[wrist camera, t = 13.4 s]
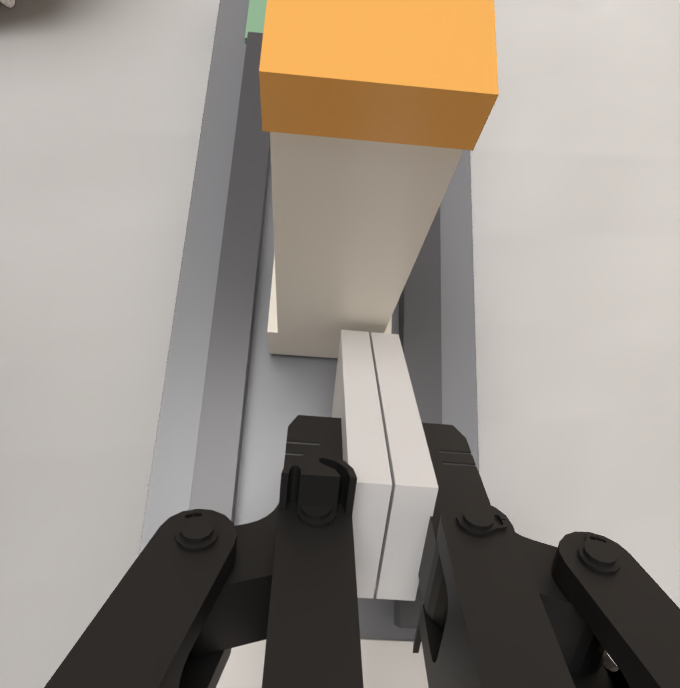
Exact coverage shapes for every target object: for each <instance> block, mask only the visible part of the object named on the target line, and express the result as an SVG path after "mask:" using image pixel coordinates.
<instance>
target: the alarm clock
mask: <svg viewBox="0 0 680 688" xmlns="http://www.w3.org/2000/svg"><path fill="white" fill-rule="evenodd" d="M0 2H1V3H3V4H4V5H6V6H7V7H8V8H11V7H13V6H14V4H15V0H0Z"/></svg>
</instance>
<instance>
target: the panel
mask: <svg viewBox="0 0 680 688" xmlns="http://www.w3.org/2000/svg"><path fill="white" fill-rule="evenodd" d="M266 5H267V0H220V4H219V11H218V18H217V24H216V31H215V38H214V45H213V52H212V59H211V65H210V72H209V79H208V86H207V93H206V100H205V106H204V113H203V120H202V127H201V134H200V140H199V147H198V154H197V161H196V168H195V175H194V181H193V188H192V195H191V202H190V209H189V216H188V222H187V229H186V236H185V243H184V250H183V257H182V263H181V270H180V277H179V284H178V291H177V297H176V304H175V311H174V318H173V325H172V332H171V338H170V345H169V352H168V359H167V366H166V373H165V379H164V386H163V393H162V400H161V407H160V413H159V420H158V427H157V434H156V441H155V448H154V454H153V461H152V468H151V475H150V482H149V489H148V495H147V502H146V509H145V516H144V523H143V530H142V536H141V543H140V550H139V555H140V553H141V552H142V551H143V549H144V548H145V546H146V545H147V544H148V542H149V541H150V539H151V538H152V537H153V535H154V534H155V532H156V531H157V530H158V528H159V527H160V526H161V525H162V524H163V523H164V522H165V521H166V520H167V519H168V518H169V517H171V516H173V515H176V514H178V513H180V512H182V511H187V510H193V509H207V510H214V511H216V512H219V513H221V514H224V515H225V516H227V517H228V518H229V519H230V520H231V521H232V522H233V523H234V526H236V525H242V524H247V523H251V522H254V521H258V520H260V519H262V518H264V517H266V516H267V515H269V514H270V513H271V512H272V511H274V510H275V508H276V507H277V505H278V504H279V497H280V484H281V473H282V470H283V468H284V460H285V450H286V441H287V431H288V426H289V425H290V424H291V422H292V421H293V420H294V419H295V418H296V417H297V416H298V415H307V416H320V417H331V415H332V406H333V397H334V388H335V379H336V370H337V361H338V358H325V357H311V356H296V355H282V354H269V347H268V335H267V329H268V318H269V307H270V296H271V285H272V274H273V263H274V252H275V251H274V226H273V200H272V174H271V149H270V132H267V131H262V116H261V98H260V81H259V66H260V58H261V49H262V40H263V31H264V22H265V13H266ZM391 334H399V338H400V342H401V346H402V349H403V353H404V357H405V361H406V365H407V369H408V373H409V376H410V380H411V384H412V388H413V392H414V396H415V399H416V403H417V407H418V411H419V415H420V419H421V422H422V423H434V424H447V425H453V426H454V427H455V428H456V429H457V430H458V431H459V432H460V433H461V434H462V435H464V436H465V437H466V439H467V442H468V445H469V447H470V450H471V455H472V456H473V458H474V461H475V467H477V469H478V472H479V453H478V417H477V382H476V346H475V310H474V275H473V239H472V204H471V168H470V150H464V151H463V153H462V155H461V158H460V160H459V162H458V165H457V167H456V169H455V172H454V174H453V176H452V178H451V181H450V183H449V185H448V188H447V190H446V192H445V194H444V197H443V199H442V201H441V204H440V206H439V208H438V211H437V213H436V215H435V217H434V220H433V222H432V224H431V227H430V229H429V231H428V233H427V236H426V238H425V240H424V243H423V245H422V247H421V250H420V252H419V254H418V256H417V259H416V261H415V263H414V266H413V268H412V270H411V272H410V275H409V277H408V279H407V282H406V284H405V286H404V289H403V291H402V293H401V295H400V298H399V300H398V302H397V305H396V307H395V309H394V311H393V314H392V328H391ZM422 601H423V599H422V594H421V588H420V582H419V584H418V589H417V594H416V599H415V601H407V600H390V599H376V590H374V596H373V598H358V612H359V627H360V642H361V657H362V672H363V687H364V688H429V687H428V680H427V674H426V667H425V661H424V655H423V648H422V642H421V644H420V649H419V653H413V643H414V638H415V633H416V629H417V624H418V619H419V615H420V610H421V605H422ZM265 648H266V640H262V641H258V642H254V643H250V644H246V645H242V646H238V647H234V648H232V649H231V654H230V656H229V659H228V661H227V663H226V666H225V668H224V670H223V672H222V675H221V677H220V679H219V682H218V684H217V686H216V688H262V679H263V669H264V658H265Z"/></svg>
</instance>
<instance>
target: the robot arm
mask: <svg viewBox="0 0 680 688" xmlns="http://www.w3.org/2000/svg"><path fill="white" fill-rule="evenodd" d="M419 582H420V588H421V594H422V599H423V601H422V605H421V610H420V615H419V619H418V624H417V629H416V633H415V638H414V643H413V653H419V649H420V644H421V642H422V648H423V655H424V661H425V667H426V674H427V680H428V687H429V688H680V609H679V608H678V606H677V605H676V604H675V603H674V602H673V601H672V600H671V599H670V598H669V596H668V595H667V594H666V593H665V592H664V591H663V590H662V589H661V588H660V587H659V585H658V584H657V583H656V582H655V581H654V580H653V579H652V578H651V577H650V575H649V574H648V573H647V572H646V571H645V570H644V569H643V568H642V567H641V566H640V564H639V563H638V562H637V561H636V560H635V559H634V558H633V557H632V556H631V554H629V553H628V552H627V551H626V550H625V549H624V548H622V547H621V546H620V545H619V544H617V543H615V542H614V541H612V540H610V539H608V538H606V537H604V536H601V535H597V534H594V533H590V532H573V533H570V534H567V535H565V536H564V537H563V539H562V540H561V541H560V542H559V545H558V548H557V547H554V546H551V545H547V544H544V543H541V542H537V541H534V540H531V539H528V538H526V537H523V536H521V535H519V534H517V533H515V531H514V528H513V525H512V524H511V522H510V521H509V519H508V518H507V516H506V515H504V514H503V513H502V512H501V511H499V510H498V509H497V508H495V507H493V506H491V505H490V502H489V499H488V497H487V494H486V491H485V488H484V486H483V483H482V480H481V477H480V475H479V472H478V469H477V467H475V461H474V458H473V456H472V455H471V450H470V447H469V445H468V442H467V439H466V437H465V436H464V435H462V434H461V433H460V432H459V431H458V430H457V429H456V428H455V427H454V426H453V425H447V424H434V423H422V422H421V419H420V415H419V411H418V407H417V403H416V399H415V396H414V392H413V388H412V384H411V380H410V376H409V373H408V369H407V365H406V361H405V357H404V353H403V349H402V346H401V342H400V338H399V334H387V333H375V332H371V336H370V337H369V332H363V331H352V330H341V334H340V343H339V352H338V361H337V370H336V379H335V388H334V397H333V406H332V415H331V417H320V416H307V415H298V416H297V417H296V418H295V419H294V420H293V421H292V422H291V424H290V425H289V426H288V431H287V441H286V450H285V460H284V468H283V470H282V473H281V484H280V497H279V504H278V505H277V507H276V508H275V510H274V511H272V512H271V513H270V514H269V515H267V516H266V517H264V518H262V519H260V520H258V521H254V522H251V523H247V524H242V525H236V526H234V523H233V522H232V521H231V520H230V519H229V518H228V517H227V516H225V515H224V514H221V513H219V512H216V511H214V510H207V509H193V510H187V511H182V512H180V513H178V514H176V515H173V516H171V517H169V518H168V519H167V520H166V521H165V522H164V523H163V524H162V525H161V526H160V527H159V528H158V530H157V531H156V532H155V534H154V535H153V537H152V538H151V539H150V541H149V542H148V544H147V545H146V546H145V548H144V549H143V551H142V552H141V553H140V555H139V556H138V558H137V559H136V560H135V562H134V563H133V565H132V566H131V567H130V569H129V570H128V571H127V573H126V574H125V576H124V577H123V578H122V580H121V581H120V583H119V584H118V585H117V587H116V588H115V590H114V591H113V592H112V594H111V595H110V597H109V598H108V599H107V601H106V602H105V604H104V605H103V606H102V608H101V609H100V611H99V612H98V613H97V615H96V616H95V618H94V619H93V620H92V622H91V623H90V624H89V626H88V627H87V629H86V630H85V631H84V633H83V634H82V636H81V637H80V638H79V640H78V641H77V643H76V644H75V645H74V647H73V648H72V650H71V651H70V652H69V654H68V655H67V657H66V658H65V659H64V661H63V662H62V664H61V665H60V666H59V668H58V669H57V670H56V672H55V673H54V675H53V676H52V677H51V679H50V680H49V682H48V683H47V684H46V686H45V687H44V688H216V686H217V684H218V682H219V679H220V677H221V675H222V672H223V670H224V668H225V666H226V663H227V661H228V659H229V656H230V654H231V649H232V648H234V647H238V646H242V645H246V644H250V643H254V642H258V641H262V640H266V648H265V658H264V669H263V679H262V688H364V687H363V672H362V657H361V642H360V627H359V612H358V598H373V596H374V590H376V599H390V600H407V601H415V599H416V594H417V589H418V584H419ZM607 653H608V654H609V655H610V657H611V658H612V660H613V661H614V662H615V664H616V665H617V666H618V667H617V666H616V665H615V664H614V663H613V662H612V660H611V659H610V657H609V656H608V655H607Z"/></svg>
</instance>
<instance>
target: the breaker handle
mask: <svg viewBox="0 0 680 688" xmlns="http://www.w3.org/2000/svg"><path fill="white" fill-rule="evenodd" d="M259 81H260V98H261V116H262V131H267V132H270V149H271V174H272V200H273V226H274V251H275V252H274V263H273V274H272V285H271V296H270V307H269V318H268V329H267V335H268V347H269V354H282V355H296V356H311V357H325V358H338V352H339V343H340V334H341V330H352V331H363V332H369V337H370V336H371V332H375V333H387V334H391V328H392V314H393V311H394V309H395V307H396V305H397V302H398V300H399V298H400V295H401V293H402V291H403V289H404V286H405V284H406V282H407V279H408V277H409V275H410V272H411V270H412V268H413V266H414V263H415V261H416V259H417V256H418V254H419V252H420V250H421V247H422V245H423V243H424V240H425V238H426V236H427V233H428V231H429V229H430V227H431V224H432V222H433V220H434V217H435V215H436V213H437V211H438V208H439V206H440V204H441V201H442V199H443V197H444V194H445V192H446V190H447V188H448V185H449V183H450V181H451V178H452V176H453V174H454V172H455V169H456V167H457V165H458V162H459V160H460V158H461V155H462V153H463V151H464V150H473V149H474V147H475V145H476V143H477V140H478V138H479V136H480V134H481V132H482V130H483V127H484V125H485V123H486V121H487V119H488V116H489V114H490V112H491V110H492V108H493V106H494V103H495V101H496V99H497V97H498V74H497V53H496V32H495V12H494V0H267V5H266V13H265V22H264V31H263V40H262V49H261V58H260V66H259Z"/></svg>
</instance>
